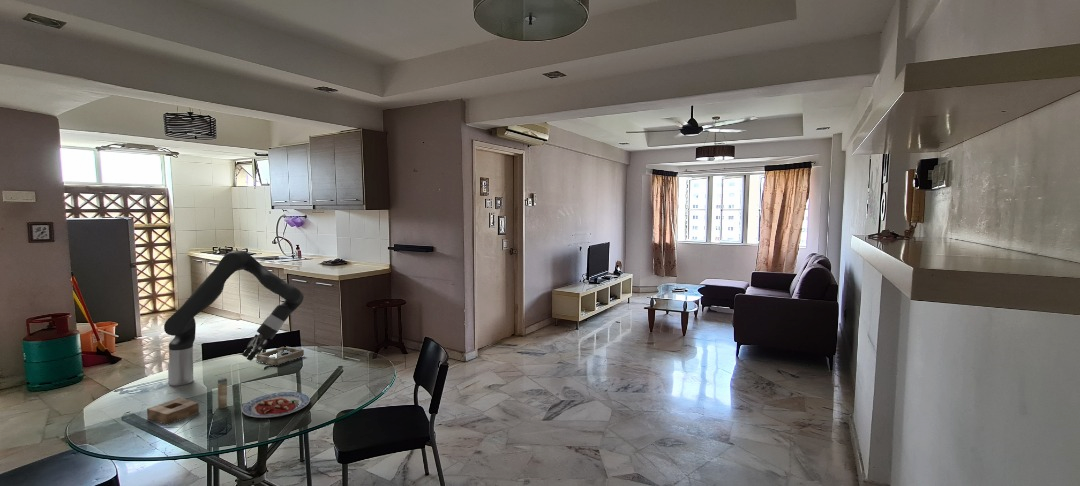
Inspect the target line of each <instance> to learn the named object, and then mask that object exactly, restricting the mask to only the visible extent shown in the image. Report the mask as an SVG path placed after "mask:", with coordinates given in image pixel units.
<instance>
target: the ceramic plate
mask: <svg viewBox="0 0 1080 486" xmlns="http://www.w3.org/2000/svg"><path fill="white" fill-rule="evenodd" d="M310 400H311V399H310V396H309V395H307V394H306V393H302V392H296V391H282V392H281V391H279V392H273V393H268V394H264V395H260V396H257V397H255V398H252V399H251V400H249V401H247V402H245V403H244V404H243V405H242V407H241V411H242V413H243V414H244V415H245V416H247V417H253V418H275V417H282V416H286V415H289V414H292V413H295V412H298V411H300V410H301V409H303V408H305V407H306V406H307V405H309V403H310ZM289 401H291V402H292V403H291V402H289ZM294 401H296V402H297V403H298V404H299V405H298V407H296V405H295V403H294ZM295 407H296V408H295ZM294 408H295V409H294Z"/></svg>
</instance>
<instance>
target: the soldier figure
mask: <svg viewBox="0 0 1080 486" xmlns="http://www.w3.org/2000/svg"><path fill="white" fill-rule="evenodd" d="M277 352H278V353H277V357H281V356H283V354H282V353H283V352H284V351H283V350H282V349H281V351H280V350H277Z"/></svg>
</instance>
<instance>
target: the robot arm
mask: <svg viewBox="0 0 1080 486" xmlns="http://www.w3.org/2000/svg"><path fill="white" fill-rule="evenodd" d="M241 270H243V271H244V272H248V273H250V274H251V275H253V277H255V278H256V279H257V280H258V281H259V283H260V284H261V285H262V287H264V288H265V289H267V290H269V291H270V292H272V293H273V294H276V295H278V296H279V297H281V298H282V299H283V300H284V301H283V302H282V303H281V304H278V305H277V306H275V307H274V309H273V310H272V312H271V313H270V314H269V315H267V317H266V318H265V319H264V320H263V322H262V323H261V324H260V325H259V327H258V328H257V330H256V332H257V333H258V334H255V335H254V336H253V337H252V338H251V340H249V342H248V343H247V344H246V346H247V347H246V349H245V350H244V351H243V353H242V354H241V355H242V356H243V357H245V358H246V360H247V361H249V362H251V361H252V362H253V360H254V358H255V357H257V355H258V354H261V353H262V351H263V350H264V348H265V347H266V346H267V344H268V343H269V340H273V338H274V337H275V336H276V335H277V333H278V332H279V330H280V329H281V328H282V327H283V325H284V323H285V322H286V320H287V319H288V318H289V317H290V315H291V314H292V313H293V312H294V311H296V309H297V308H298V307H299V306H300V305H301V304H302V303H303V301H304V298H305V297H304V294H303V292H302V291H301V290H300V289H298V288H297V287H296V286H294V285H292V284H290V283H288V282H286V281H285V280H284V279H282V278H280V277H279V276H277V275H276V274H274V273H273V272H271V271H270V270H269V269H267V268H266V267H264V266H263V265H262V264H261V263H260V262H259V261H258V260H257V259H256V258H254V256H252V255H251V254H250V253H248V252H247V251H245V250H234V251H229V252H227V253H225V254H224V255H223V257H222V258H221V259H220V261H219V262H218V263H217V265H216V267H215V268H214V269H213V271H212V272H211V273H210V274H209V275H208V276H207V277H206V278H205V279H204V280H203V281H202V283H200V285H198V287H197V288H196V289H195V290H194V291H193V293H191V295H189V297H188V298H187V299H186V301H185V302H184V303H183V304H182V305H181V307H180V308H179V309H178V310H176V311H175V312H174V313H173V314H172V315H170V316H169V317H168V318H167V319H166V321H165V322H164V325H163V330H164V332H165V334H167V335H168V336H171V337H172V336H173V337H174V338H173V339H172V340H170V342H168V364H167V368H168V369H167V371H168V372H167V373H168V375H167V376H168V379H167V381H168V384H169V386H173V387H174V386H175V387H176V386H186V385H188V384H191V383H192V382H194V342H195V340H196V331H197V330H196V329H197V328H196V327H197V326H196V325H197V322H196V320H195V317H196V316H197V315H199V314H200V313H201V312H203V311H204V310H205V309H207V308H209V307H210V305H212V304H213V303H215V301H216V300H217V299H218V298H219V297H220V296H221V294H222V293H223V290H224V288H225V283H227V281H228V279H229V278H230V277H231V276H232V275H233V274H235V272H237V271H241ZM268 339H269V340H268Z"/></svg>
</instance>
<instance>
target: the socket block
mask: <svg viewBox="0 0 1080 486" xmlns="http://www.w3.org/2000/svg"><path fill="white" fill-rule="evenodd" d="M199 404H200V403H199V402H196V401H193V400H189V399H185V398H182V397H177V398H175V399H172V400H169V401H165V402H163V403H160V404H157V405H154V406H152V407H148V408H147V409H146V413H147V414H146V418H147V420H149V419H151V420H150V421H153V420H155V421H154V422H156V421H158V422H157V423H159V422H162V423H161V424H163V423H165V424H164V425H166V424H168V425H170V424H169V423H171V424H173V423H175V422H174V421H176V422H178V421H180V420H179V419H181V420H183V419H182V418H184V419H185V417H186V418H188V416H189V417H191V416H194V415H196V414H199V412H200V411H199ZM177 420H178V421H177ZM172 422H173V423H172Z"/></svg>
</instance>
